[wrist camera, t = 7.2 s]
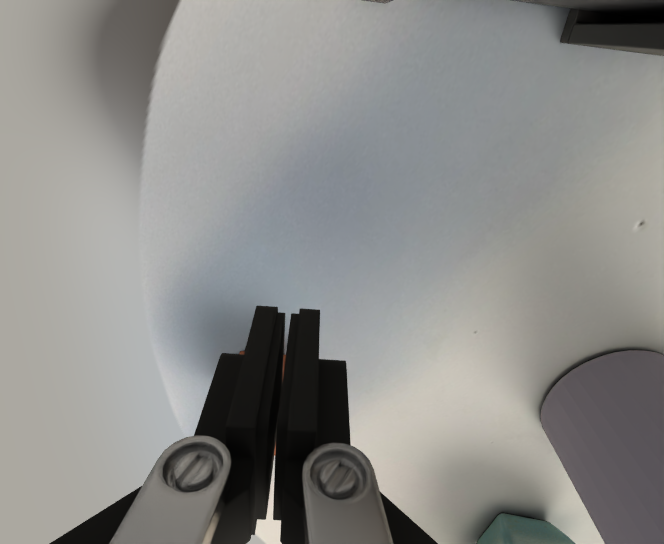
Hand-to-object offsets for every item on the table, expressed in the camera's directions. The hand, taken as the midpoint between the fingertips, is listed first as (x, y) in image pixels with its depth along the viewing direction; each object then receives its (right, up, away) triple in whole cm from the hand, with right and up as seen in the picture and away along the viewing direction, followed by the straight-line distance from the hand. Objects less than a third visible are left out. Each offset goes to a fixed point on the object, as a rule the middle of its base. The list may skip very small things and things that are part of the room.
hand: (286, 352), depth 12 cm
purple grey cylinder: (+22, -7, +21) cm, 31 cm away
